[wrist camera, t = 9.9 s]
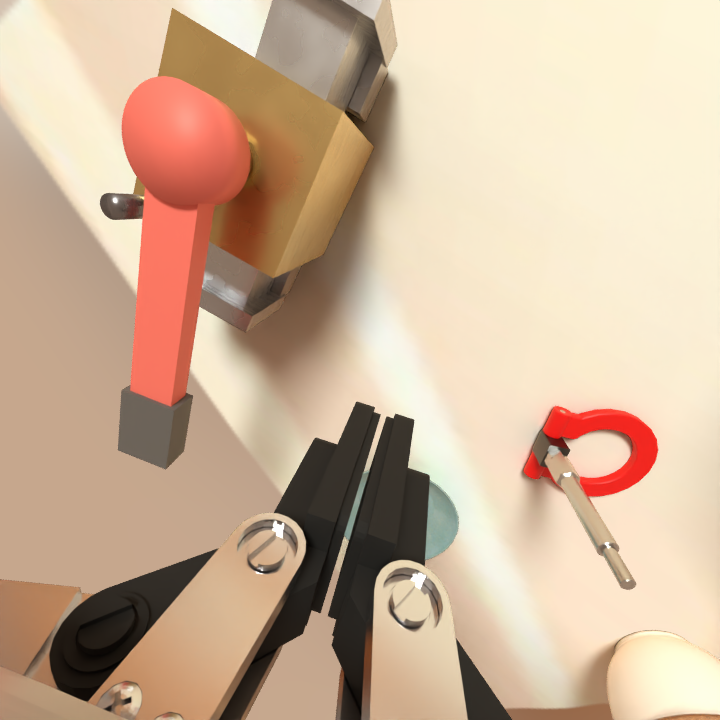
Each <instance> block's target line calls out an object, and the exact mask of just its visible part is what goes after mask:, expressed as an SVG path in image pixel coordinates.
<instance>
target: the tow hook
mask: <svg viewBox="0 0 720 720" xmlns="http://www.w3.org/2000/svg"><path fill="white" fill-rule="evenodd" d="M604 429H610V430H616V431H620V432H622V433H624V434H626V435H628V436H629V437H630V439H631V441H632V446H633V449H632V454H631V456H630V458H629V460H628V462H627V463H626V464H625V465H624V466H623V467H622V468H621V469H619V470H617V471H616V472H614V473H612V474H610V475H607V476H604V477H599V478H585V477H579V475H578V474H577V472H576V470H575V469H574V467H573V466H572V464H571V463H570V461H569V459H568V458H567V455H568V454H569V452H570V449H569V448H568V446H567V445H566V443H565V441H564V440H563V438H562V437H565V438H570V439H577V438H579V437H580V436H582V435H584V434H586V433H588V432H591V431H596V430H604ZM532 450H533V451H532V453H531V455H530V457H529V459H528V461H527V463H526V465H525V468H524V473H525V474H526V475H527V476H528V477H530V478H533V479H539V478H540V477H541V476H544V477H548V478H551V480H552V481H553V482H554V483H555V484H556V485H558V486H559V487H560V488H561V489H563V490H564V492H565V494H566V496H567V498H568V499H569V501H570V503H571V505H572V507H573V509H574V510H575V512H576V514H577V516H578V518H579V520H580V522H581V523H582V525H583V527H584V529H585V531H586V533H587V534H588V536H589V538H590V540H591V542H592V544H593V545H594V547H595V549H596V551H597V553H598V554H599V555H601V556H604V558H605V560H606V561H607V563H608V565H609V567H610V569H611V570H612V572H613V574H614V576H615V578H616V579H617V581H618V583H619V585H620V587H621V588H623V589H626V590H630V589H633V588H634V587H635V586H636V582H635V580H634V579H633V577H632V575H631V574H630V572H629V570H628V569H627V567H626V565H625V564H624V562H623V560H622V559H621V557H620V555H619V554H618V551H619V546H618V545H617V543H616V541H615V540H614V538H613V536H612V535H611V533H610V532H609V530H608V528H607V527H606V525H605V523H604V522H603V520H602V519H601V517H600V515H599V514H598V512H597V510H596V509H595V507H594V505H593V504H592V502H591V501H590V499H589V497H588V496H604V495H610V494H615V493H617V492H620V491H622V490H625V489H628V488H629V487H631V486H632V485H634V484H636V483H637V482H639V481H640V480H641V479H642V478H643V477H644V476H645V475H646V474H647V473H648V472H649V471H650V469H651V468H652V466H653V464H654V463H655V461H656V457H657V453H658V446H657V439H656V437H655V435H654V434H653V432H652V430H651V429H650V428H649V427H648V426H647V425H646V424H645V423H644V422H642V421H641V420H640V419H639V418H638V417H636V416H634V415H632V414H629V413H627V412H625V411H619V410H613V409H600V410H592V411H588V412H584V413H580V414H575V413H571V412H570V411H569V410H567V409H565V408H563V407H559V406H555V407H554V408H553V410H552V412H551V414H550V416H549V418H548V420H547V422H546V424H545V426H544V428H543V429H542V430H541V431H540V433H539V435H538V437H537V440H536V442H535V444H534V446H533V448H532Z"/></svg>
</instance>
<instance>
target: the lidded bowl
mask: <svg viewBox="0 0 720 720" xmlns="http://www.w3.org/2000/svg"><path fill="white" fill-rule="evenodd" d="M614 653H615V654H614V655H613V657H612V659H611V661H610V664H609V667H608V672H607V694H608V700H609V705H610V710H611V713H612V717H613V720H720V660H718V659H717V658H715V657H714V656H713V655H711V654H709V653H708V652H706V651H705V650H703V649H701V648H699V647H697V646H695V645H693V644H691V643H689V642H688V641H687V640H685V639H684V638H682V637H681V636H678V635H676V634H673V633H670V632H666V631H658V630H649V631H640V632H636V633H633V634H630V635H628V636H626V637H624V638H622V639H621V640H620V641H619V642H618V643H617V645H616V646H615V651H614Z"/></svg>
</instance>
